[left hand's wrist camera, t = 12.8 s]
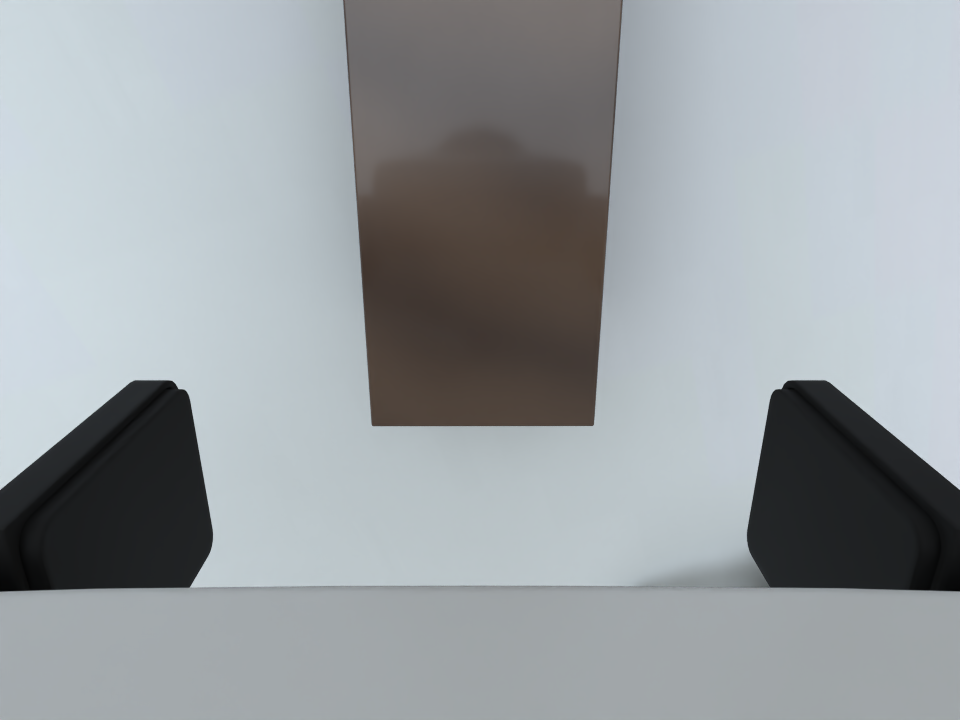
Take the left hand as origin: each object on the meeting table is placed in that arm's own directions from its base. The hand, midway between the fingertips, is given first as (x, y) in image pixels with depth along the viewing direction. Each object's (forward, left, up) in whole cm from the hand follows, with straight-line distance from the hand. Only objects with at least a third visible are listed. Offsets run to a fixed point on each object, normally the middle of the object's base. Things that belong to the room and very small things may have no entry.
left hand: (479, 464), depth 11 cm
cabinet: (+6, -2, -18) cm, 19 cm away
